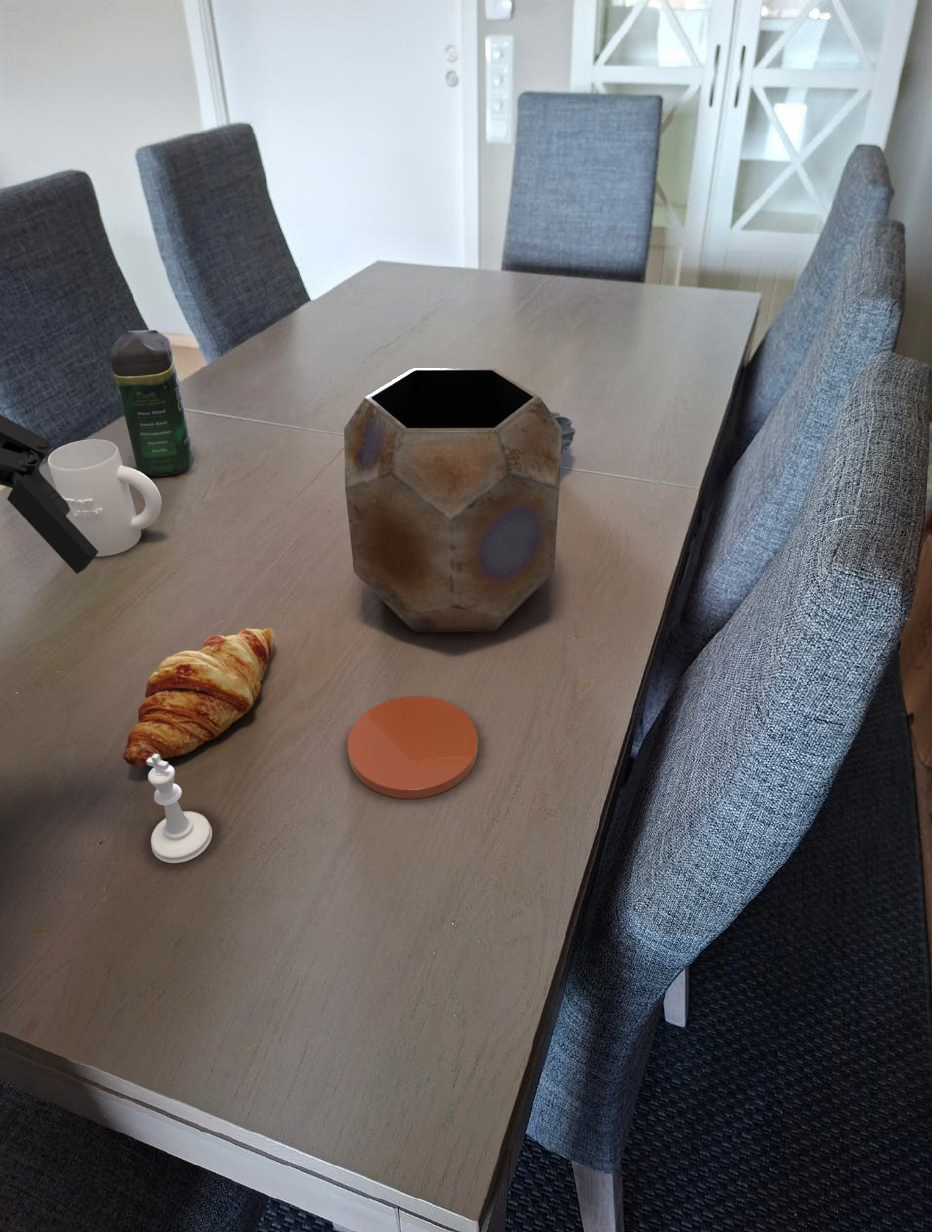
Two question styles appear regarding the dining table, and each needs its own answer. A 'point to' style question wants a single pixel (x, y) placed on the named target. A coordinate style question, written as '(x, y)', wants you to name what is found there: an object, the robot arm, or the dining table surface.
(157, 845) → the chess piece
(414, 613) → the planter
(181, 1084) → the dining table surface
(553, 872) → the dining table surface
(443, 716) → the orange flat disc
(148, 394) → the coffee jar
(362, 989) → the dining table surface
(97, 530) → the mug
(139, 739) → the croissant
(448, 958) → the dining table surface
